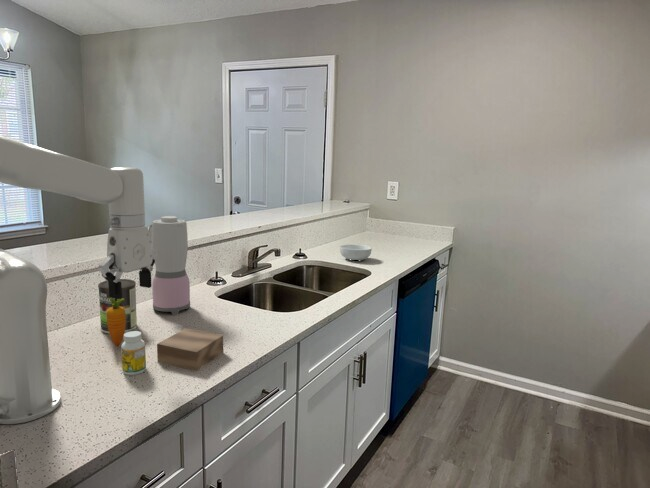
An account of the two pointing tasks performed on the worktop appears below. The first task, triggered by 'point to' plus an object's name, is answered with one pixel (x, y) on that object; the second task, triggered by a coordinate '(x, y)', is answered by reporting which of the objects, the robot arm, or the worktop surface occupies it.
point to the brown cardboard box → (190, 349)
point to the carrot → (116, 321)
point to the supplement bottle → (133, 353)
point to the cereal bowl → (355, 251)
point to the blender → (170, 265)
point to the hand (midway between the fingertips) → (131, 292)
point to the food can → (127, 304)
